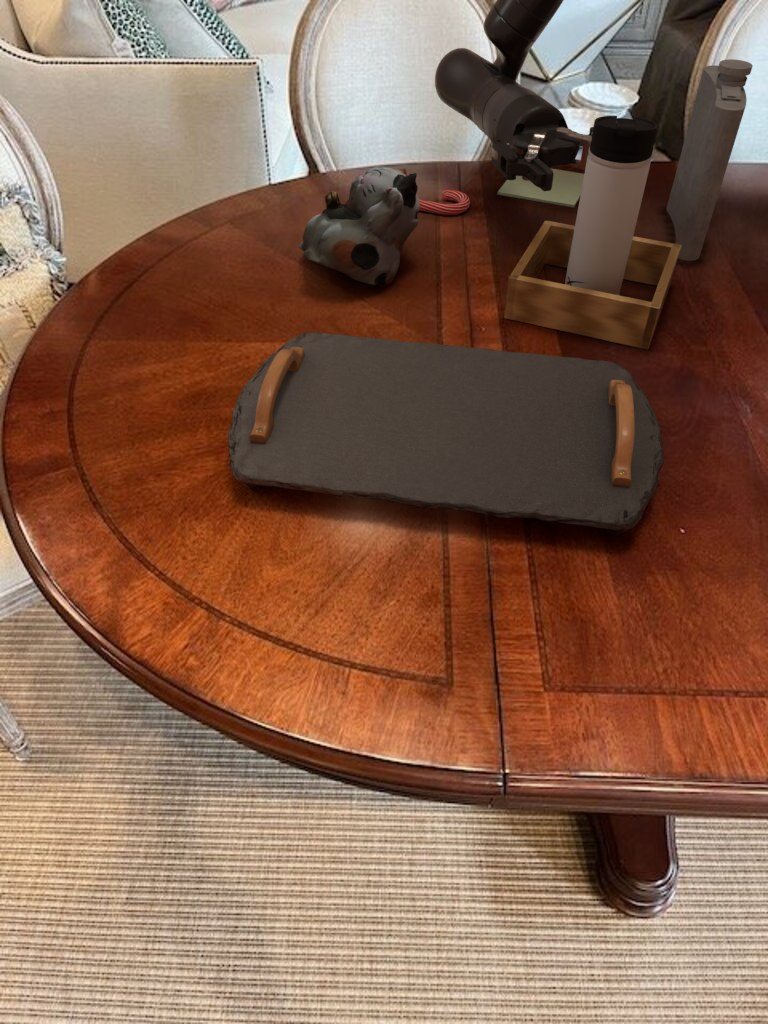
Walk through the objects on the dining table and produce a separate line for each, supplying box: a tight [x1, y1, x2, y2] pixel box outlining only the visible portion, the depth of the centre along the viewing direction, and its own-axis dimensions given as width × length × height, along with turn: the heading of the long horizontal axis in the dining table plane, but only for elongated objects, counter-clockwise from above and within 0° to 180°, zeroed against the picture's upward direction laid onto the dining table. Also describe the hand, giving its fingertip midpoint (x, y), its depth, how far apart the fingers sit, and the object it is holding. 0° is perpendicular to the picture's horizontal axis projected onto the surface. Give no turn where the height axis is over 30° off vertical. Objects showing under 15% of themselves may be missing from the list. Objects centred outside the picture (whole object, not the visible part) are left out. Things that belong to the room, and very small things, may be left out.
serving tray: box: [227, 331, 665, 537], centre depth 71 cm, size 39×23×6 cm, turn 80°
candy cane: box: [419, 189, 471, 216], centre depth 108 cm, size 6×15×2 cm, turn 68°
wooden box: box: [503, 220, 682, 350], centre depth 88 cm, size 16×15×5 cm
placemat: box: [496, 167, 584, 208], centre depth 112 cm, size 11×11×1 cm
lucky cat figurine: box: [298, 166, 421, 288], centre depth 92 cm, size 15×12×14 cm
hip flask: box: [666, 58, 754, 262], centre depth 95 cm, size 16×4×20 cm, turn 169°
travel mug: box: [564, 115, 660, 296], centre depth 83 cm, size 6×7×20 cm
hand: (585, 177), depth 86 cm, fingers open, 8 cm apart
